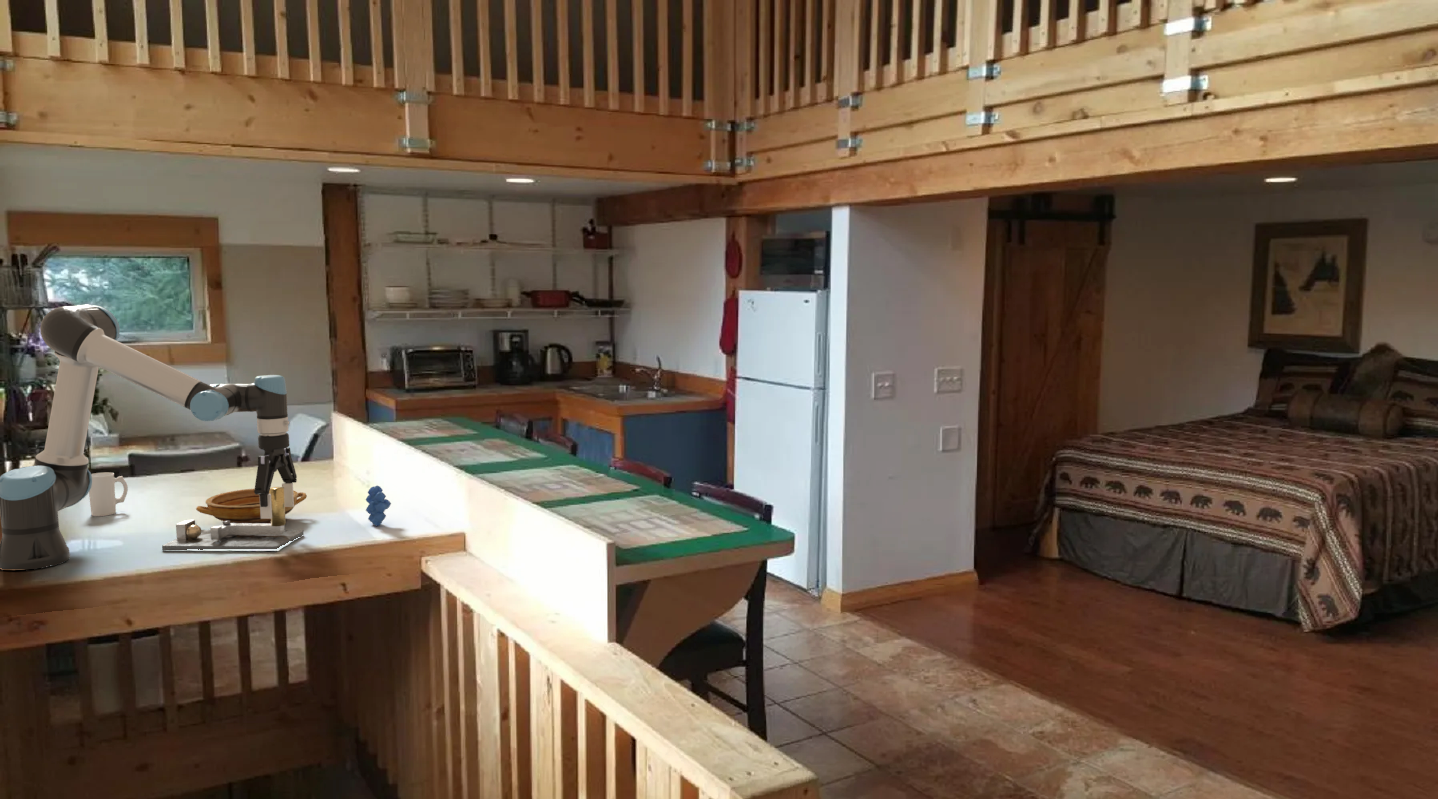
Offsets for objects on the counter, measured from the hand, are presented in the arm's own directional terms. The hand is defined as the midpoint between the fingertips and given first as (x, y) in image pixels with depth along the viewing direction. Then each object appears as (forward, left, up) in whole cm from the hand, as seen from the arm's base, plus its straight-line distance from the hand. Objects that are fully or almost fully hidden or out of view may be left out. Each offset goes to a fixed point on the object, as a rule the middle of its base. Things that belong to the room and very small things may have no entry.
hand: (277, 512), depth 265 cm
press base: (-2, +11, -8) cm, 14 cm away
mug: (+30, +65, -8) cm, 72 cm away
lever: (-2, +7, -6) cm, 9 cm away
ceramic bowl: (+19, +16, -8) cm, 26 cm away
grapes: (+18, -21, -8) cm, 29 cm away
